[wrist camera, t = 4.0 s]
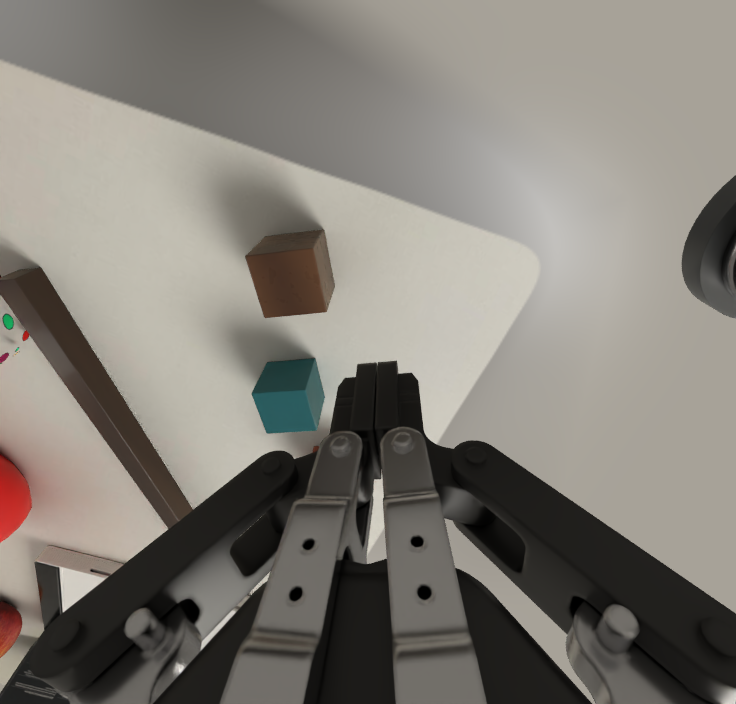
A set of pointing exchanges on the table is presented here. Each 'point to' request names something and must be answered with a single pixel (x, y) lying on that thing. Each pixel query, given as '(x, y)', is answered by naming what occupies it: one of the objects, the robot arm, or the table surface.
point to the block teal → (289, 396)
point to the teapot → (12, 498)
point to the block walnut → (292, 273)
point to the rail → (92, 387)
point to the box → (29, 687)
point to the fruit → (8, 626)
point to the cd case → (79, 582)
